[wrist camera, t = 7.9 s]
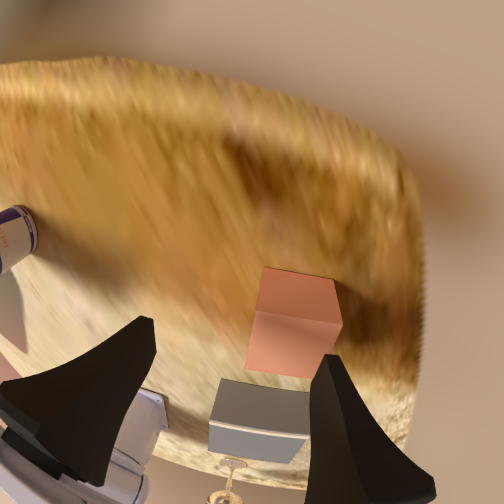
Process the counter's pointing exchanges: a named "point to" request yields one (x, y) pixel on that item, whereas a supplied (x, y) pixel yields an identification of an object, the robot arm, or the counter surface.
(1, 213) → the energy drink
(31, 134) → the counter surface
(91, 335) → the counter surface
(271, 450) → the block
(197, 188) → the counter surface
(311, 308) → the salmon pink cube
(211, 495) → the wineglass
